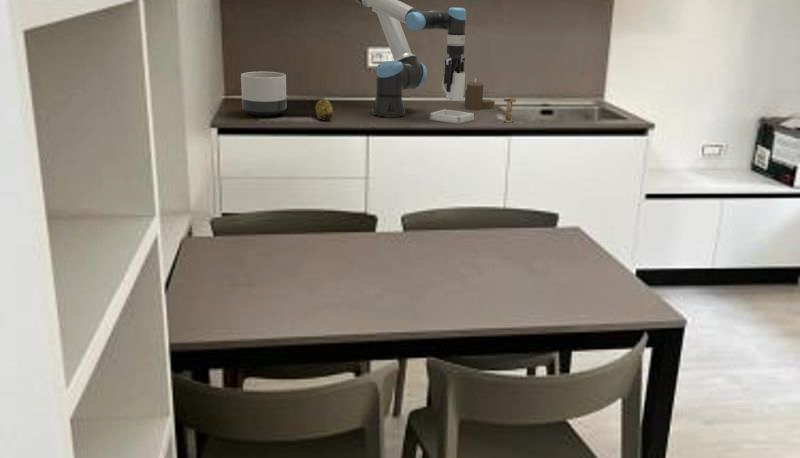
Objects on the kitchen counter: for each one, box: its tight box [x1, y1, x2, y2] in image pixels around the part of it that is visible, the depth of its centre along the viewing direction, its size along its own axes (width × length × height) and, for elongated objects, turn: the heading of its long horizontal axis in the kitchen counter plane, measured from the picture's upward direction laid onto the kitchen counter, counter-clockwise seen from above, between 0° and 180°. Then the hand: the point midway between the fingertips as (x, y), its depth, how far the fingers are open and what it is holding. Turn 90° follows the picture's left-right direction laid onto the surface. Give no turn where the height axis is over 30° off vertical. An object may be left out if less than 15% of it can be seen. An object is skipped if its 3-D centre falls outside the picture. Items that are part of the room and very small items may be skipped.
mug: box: [441, 71, 466, 102], centre depth 346 cm, size 10×7×12 cm, turn 78°
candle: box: [464, 77, 495, 111], centre depth 380 cm, size 14×14×15 cm
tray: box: [429, 108, 475, 125], centre depth 350 cm, size 15×13×3 cm
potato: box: [315, 99, 334, 121], centre depth 342 cm, size 8×13×8 cm, turn 179°
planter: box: [240, 71, 287, 117], centre depth 345 cm, size 19×19×18 cm
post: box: [503, 97, 517, 122], centre depth 350 cm, size 5×4×10 cm
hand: (453, 98), depth 348 cm, fingers closed on mug, 6 cm apart
